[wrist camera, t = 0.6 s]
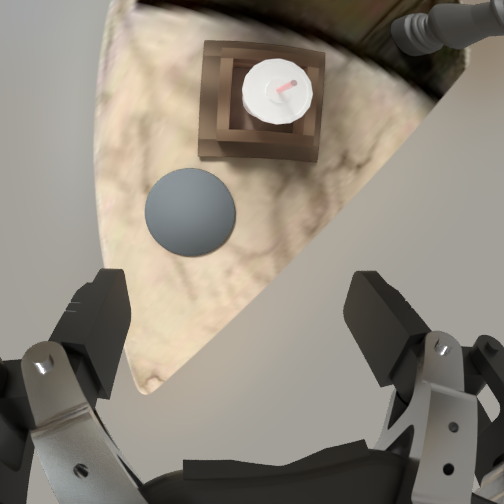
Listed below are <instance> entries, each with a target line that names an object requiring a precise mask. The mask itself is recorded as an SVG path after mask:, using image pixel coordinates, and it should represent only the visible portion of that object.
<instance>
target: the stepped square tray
mask: <svg viewBox="0 0 504 504" xmlns="http://www.w3.org/2000/svg"><path fill="white" fill-rule="evenodd" d="M269 59H283V60H286V61H290V62H293V63H294V64H296V65H297V66H298V67H300V68H301V69H302V70H304V72H305V73H306V75H307V76H308V78H309V80H310V81H311V86H312V92H313V96H312V100H311V104H310V107H309V108H308V110H307V111H306V112H305V113H304V115H303V116H302V117H300V118H298V119H297V120H295V121H293V128H292V133H284V132H273V131H258V130H239V129H229V116H230V99H231V84H232V69H233V67H239V68H253V66H255V65H257V64H258V63H260V62H262V61H264V60H269ZM324 71H325V53H323V52H318V51H313V50H307V49H301V48H295V47H289V46H281V45H273V44H264V43H254V42H240V41H212V40H205V41H204V52H203V64H202V77H201V92H200V110H199V133H198V156H217V157H251V158H270V159H285V160H298V161H309V162H317V160H318V150H319V139H320V128H321V116H322V103H323V88H324Z"/></svg>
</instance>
